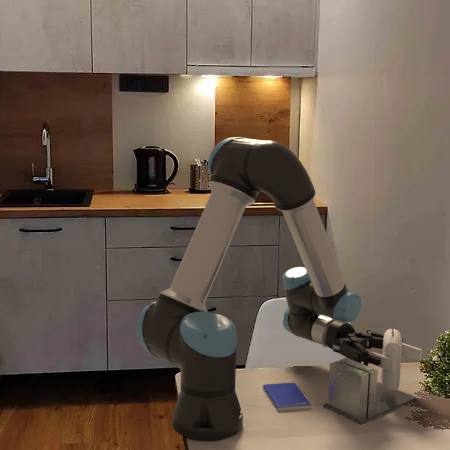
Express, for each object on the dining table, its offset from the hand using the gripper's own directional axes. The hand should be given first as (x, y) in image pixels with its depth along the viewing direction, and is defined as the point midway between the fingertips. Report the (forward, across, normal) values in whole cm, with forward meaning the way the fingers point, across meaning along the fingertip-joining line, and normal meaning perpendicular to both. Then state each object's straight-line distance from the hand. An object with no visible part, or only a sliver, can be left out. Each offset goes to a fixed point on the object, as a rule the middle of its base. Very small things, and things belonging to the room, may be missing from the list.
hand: (407, 360), depth 165 cm
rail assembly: (-4, +7, -10) cm, 13 cm away
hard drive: (-18, +20, -11) cm, 29 cm away
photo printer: (-4, 0, -7) cm, 8 cm away
